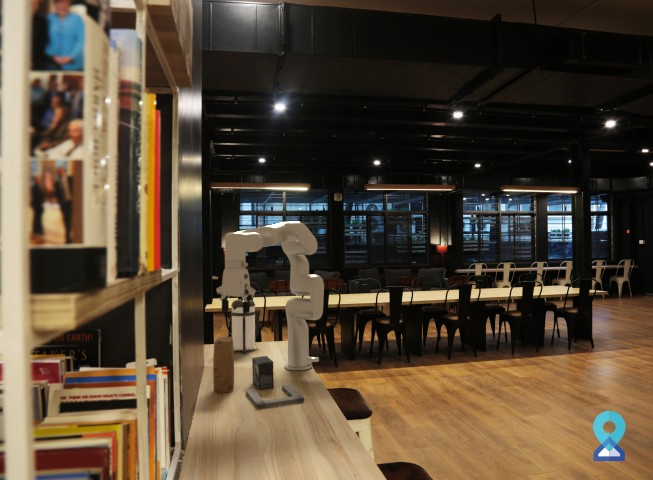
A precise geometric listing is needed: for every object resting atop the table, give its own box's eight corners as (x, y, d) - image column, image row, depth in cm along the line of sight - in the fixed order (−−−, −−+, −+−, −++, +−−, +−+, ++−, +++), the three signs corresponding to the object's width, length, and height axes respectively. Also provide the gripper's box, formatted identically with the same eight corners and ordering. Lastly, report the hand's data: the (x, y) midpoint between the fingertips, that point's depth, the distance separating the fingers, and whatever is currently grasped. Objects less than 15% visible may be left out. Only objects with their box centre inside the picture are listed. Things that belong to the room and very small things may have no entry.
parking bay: (289, 388, 175) (289, 384, 175) (304, 401, 159) (304, 397, 159) (246, 394, 168) (246, 390, 168) (257, 409, 153) (257, 404, 153)
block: (232, 393, 169) (232, 340, 169) (212, 394, 168) (211, 341, 169) (235, 385, 180) (235, 334, 180) (216, 385, 179) (216, 335, 179)
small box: (251, 383, 182) (251, 357, 183) (267, 381, 185) (266, 355, 185) (258, 390, 173) (257, 363, 173) (274, 388, 175) (274, 361, 176)
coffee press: (259, 353, 234) (259, 295, 235) (228, 354, 232) (228, 296, 232) (259, 346, 251) (259, 292, 252) (230, 347, 249) (229, 293, 249)
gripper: (260, 265, 166) (260, 311, 166) (223, 265, 174) (223, 309, 174) (248, 266, 160) (248, 314, 159) (210, 265, 167) (210, 311, 167)
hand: (235, 311), depth 167 cm, fingers open, 9 cm apart
